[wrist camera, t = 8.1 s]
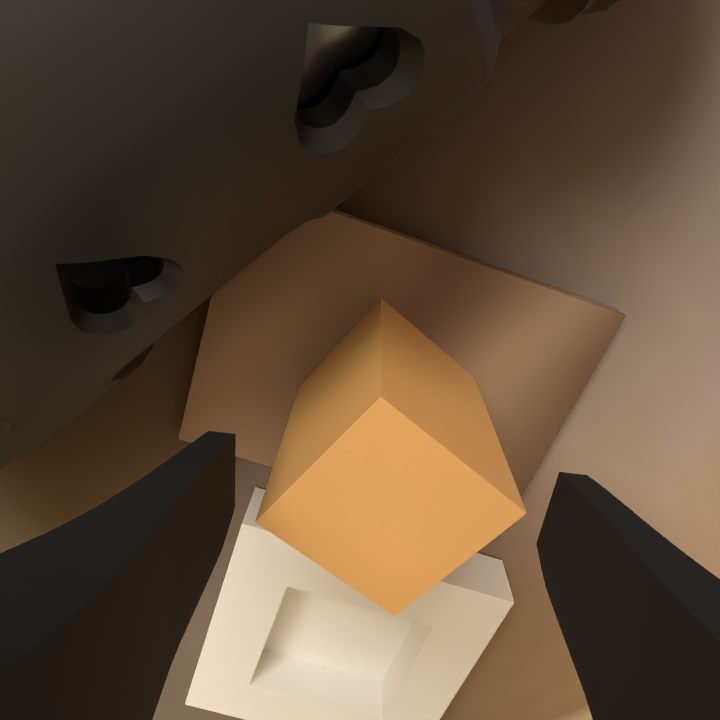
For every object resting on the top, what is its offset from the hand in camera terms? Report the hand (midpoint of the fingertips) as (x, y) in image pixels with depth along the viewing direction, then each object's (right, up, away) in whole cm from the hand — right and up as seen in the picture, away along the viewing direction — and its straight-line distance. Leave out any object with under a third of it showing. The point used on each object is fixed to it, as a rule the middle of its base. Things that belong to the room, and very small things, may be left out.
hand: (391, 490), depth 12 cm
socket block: (-1, -8, +10) cm, 13 cm away
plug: (0, +2, +5) cm, 6 cm away
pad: (0, +2, +6) cm, 6 cm away
